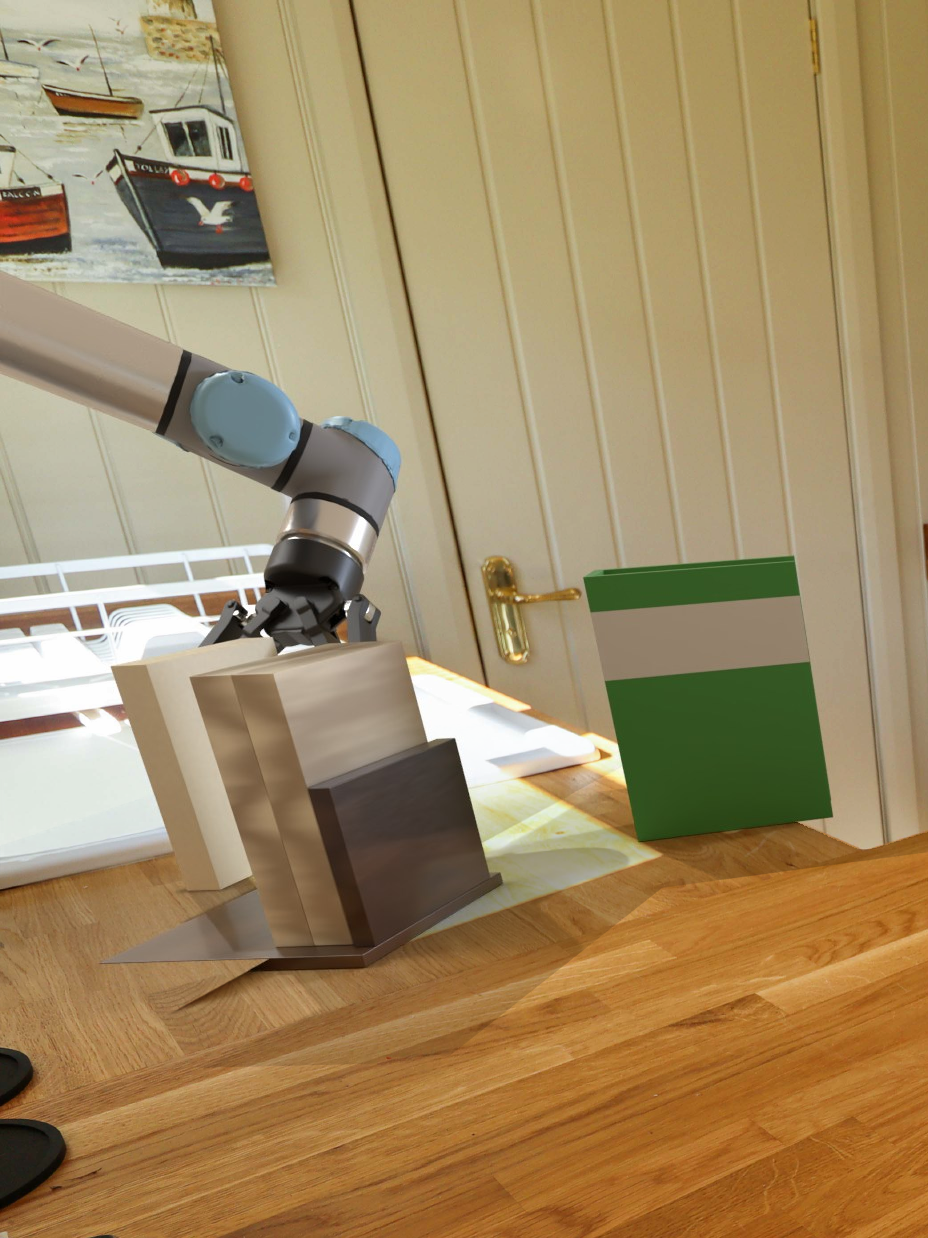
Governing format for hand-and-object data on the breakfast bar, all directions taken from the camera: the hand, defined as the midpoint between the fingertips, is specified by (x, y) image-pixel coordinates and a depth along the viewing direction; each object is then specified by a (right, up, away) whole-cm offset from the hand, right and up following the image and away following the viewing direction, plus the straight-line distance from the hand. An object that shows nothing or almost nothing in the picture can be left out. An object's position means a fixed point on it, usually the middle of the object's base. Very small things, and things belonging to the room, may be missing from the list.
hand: (250, 757), depth 112 cm
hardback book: (+40, -5, +10) cm, 42 cm away
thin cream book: (0, -10, +1) cm, 10 cm away
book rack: (+15, -15, -13) cm, 24 cm away
